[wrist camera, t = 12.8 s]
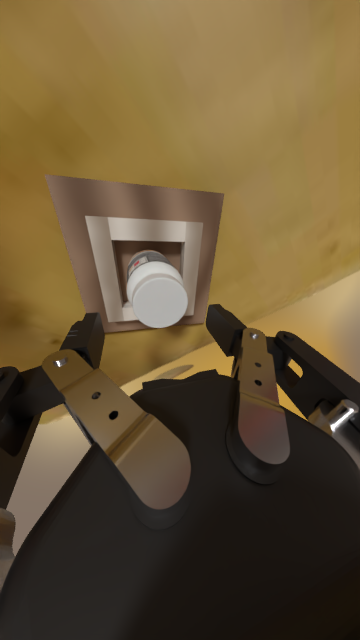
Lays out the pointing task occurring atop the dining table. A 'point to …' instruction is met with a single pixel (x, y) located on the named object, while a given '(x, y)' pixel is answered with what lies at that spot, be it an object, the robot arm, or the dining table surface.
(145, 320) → the pill bottle
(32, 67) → the dining table surface
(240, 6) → the dining table surface
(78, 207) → the socket block
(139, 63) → the dining table surface
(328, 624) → the robot arm
